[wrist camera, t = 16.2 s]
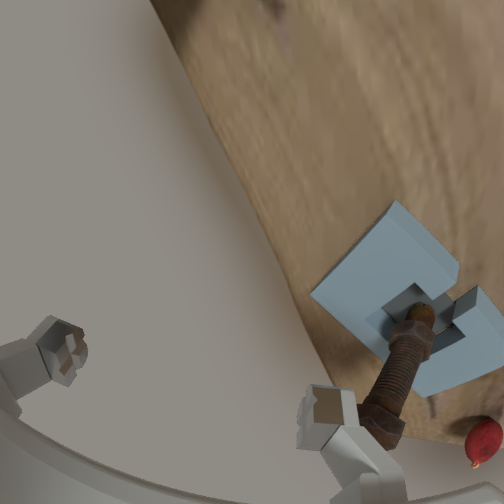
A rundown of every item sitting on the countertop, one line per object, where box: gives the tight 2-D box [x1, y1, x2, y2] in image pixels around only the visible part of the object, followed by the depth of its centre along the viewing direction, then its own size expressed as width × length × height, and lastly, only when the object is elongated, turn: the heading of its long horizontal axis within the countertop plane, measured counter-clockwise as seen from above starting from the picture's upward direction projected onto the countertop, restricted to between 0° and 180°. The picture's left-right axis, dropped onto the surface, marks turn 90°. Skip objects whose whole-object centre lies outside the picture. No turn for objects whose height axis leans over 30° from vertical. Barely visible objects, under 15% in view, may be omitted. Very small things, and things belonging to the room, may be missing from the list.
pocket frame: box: [310, 200, 504, 398], centre depth 27 cm, size 20×14×3 cm
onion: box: [465, 418, 503, 469], centre depth 24 cm, size 6×6×8 cm
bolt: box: [356, 302, 436, 451], centre depth 23 cm, size 6×5×15 cm
